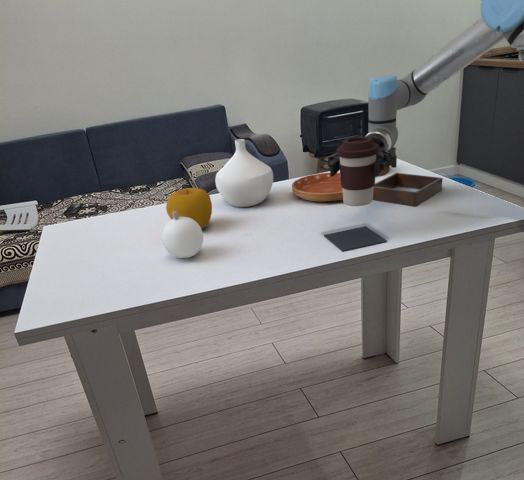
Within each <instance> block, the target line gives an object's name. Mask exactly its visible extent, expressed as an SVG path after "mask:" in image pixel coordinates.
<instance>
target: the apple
mask: <svg viewBox="0 0 524 480" xmlns="http://www.w3.org/2000/svg"><path fill="white" fill-rule="evenodd" d="M165 210H166V213H167V215H168V217H169V219H170V220H172V219H173V211H177V214H178V217H188V218H191V219H193V220H194V221H196V222H197V223H198V225H199V226H200V228H201V230H202V229H204V228H206V227H207V226H208V225H209V223H210V221H211V217H212V213H213V203H212V200H211V196H210V194H209V193H208V192H207V191H206V190H204V189H203V188H198V187H187V188H182V189H178V190H176V191H174V192H172V193H171V194H170V195H169V196H168V199H167V202H166V205H165Z"/></svg>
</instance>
